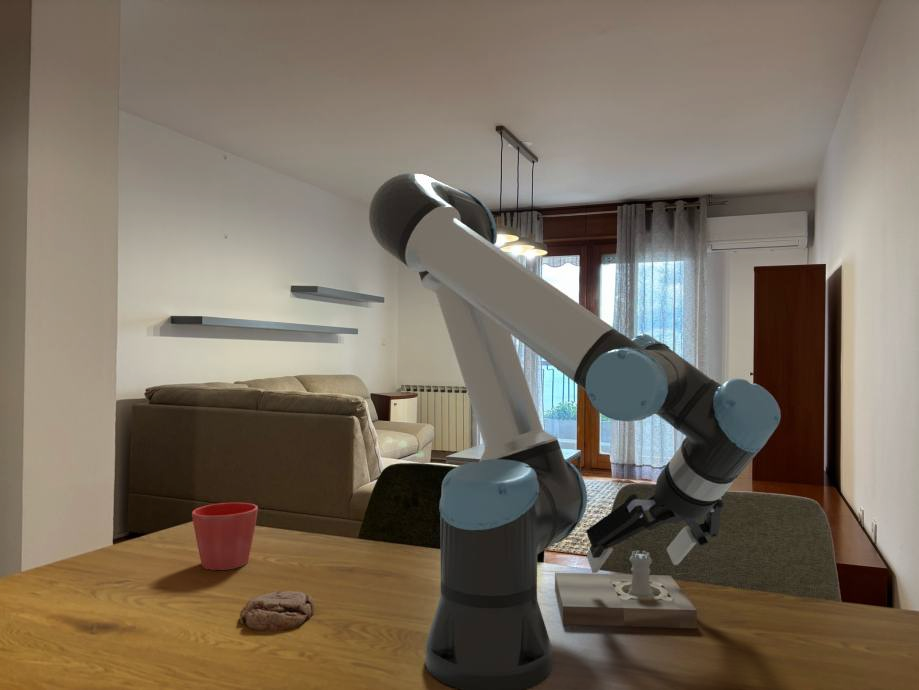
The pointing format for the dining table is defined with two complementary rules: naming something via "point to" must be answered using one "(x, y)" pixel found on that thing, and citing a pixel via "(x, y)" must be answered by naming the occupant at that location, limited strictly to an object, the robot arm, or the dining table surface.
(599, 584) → the socket board
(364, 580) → the dining table surface
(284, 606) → the cookie
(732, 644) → the dining table surface
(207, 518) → the flower pot
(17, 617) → the dining table surface
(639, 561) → the rook chess piece
